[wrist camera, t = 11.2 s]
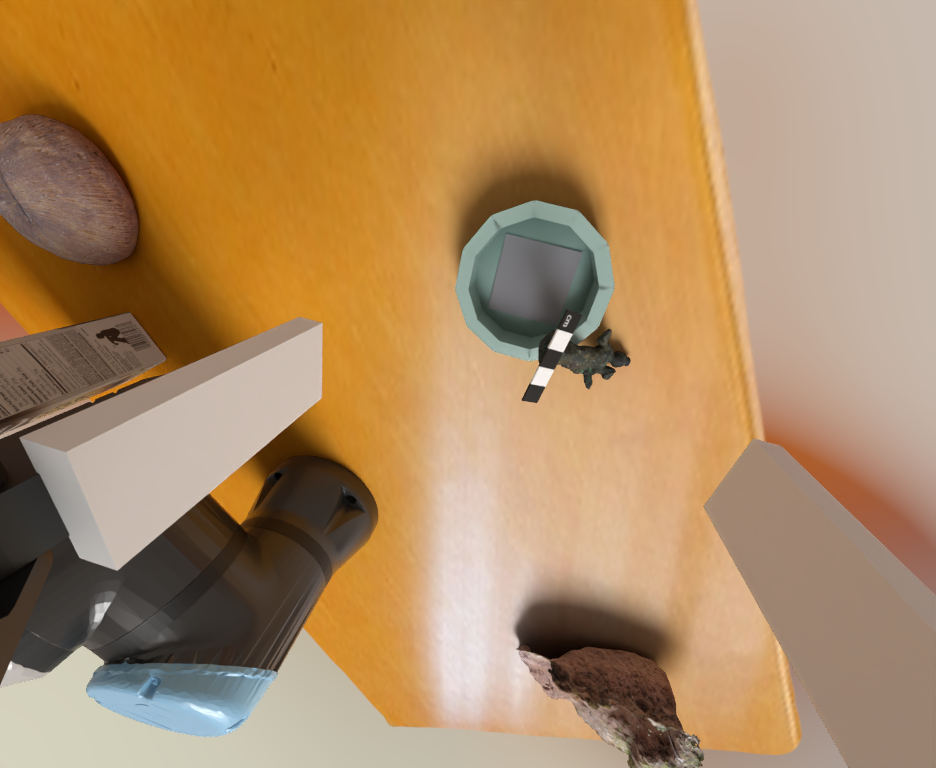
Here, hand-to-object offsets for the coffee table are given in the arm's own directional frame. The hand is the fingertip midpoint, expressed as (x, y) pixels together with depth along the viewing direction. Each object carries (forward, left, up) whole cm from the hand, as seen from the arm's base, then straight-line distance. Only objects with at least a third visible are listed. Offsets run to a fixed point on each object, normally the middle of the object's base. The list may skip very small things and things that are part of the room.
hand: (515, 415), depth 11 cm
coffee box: (-43, -18, -21) cm, 51 cm away
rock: (+25, -47, -22) cm, 58 cm away
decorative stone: (-44, +1, -22) cm, 50 cm away
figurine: (0, -2, -13) cm, 13 cm away
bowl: (0, +1, -21) cm, 21 cm away
